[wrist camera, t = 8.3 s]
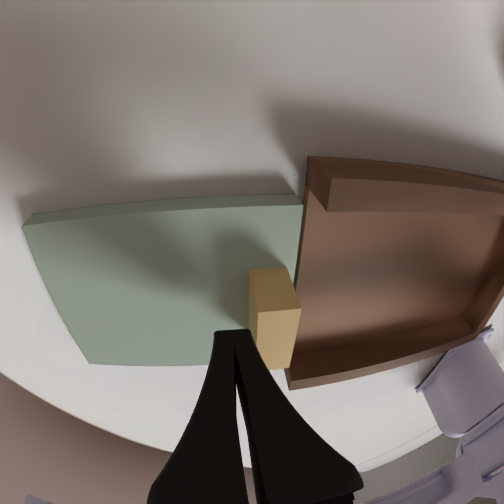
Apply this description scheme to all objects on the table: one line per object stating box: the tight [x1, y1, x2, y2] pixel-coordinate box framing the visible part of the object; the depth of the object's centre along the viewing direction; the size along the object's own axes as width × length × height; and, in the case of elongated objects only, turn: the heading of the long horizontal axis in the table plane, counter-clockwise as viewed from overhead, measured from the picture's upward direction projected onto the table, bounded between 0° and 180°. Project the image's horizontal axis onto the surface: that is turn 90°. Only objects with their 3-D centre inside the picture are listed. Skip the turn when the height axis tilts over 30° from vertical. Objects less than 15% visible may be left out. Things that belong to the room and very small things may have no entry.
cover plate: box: [22, 194, 303, 370], centre depth 12 cm, size 10×12×4 cm
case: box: [284, 156, 504, 390], centre depth 14 cm, size 13×17×2 cm
